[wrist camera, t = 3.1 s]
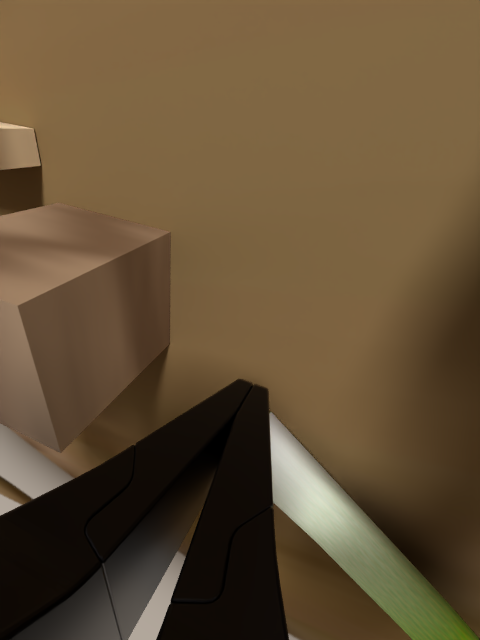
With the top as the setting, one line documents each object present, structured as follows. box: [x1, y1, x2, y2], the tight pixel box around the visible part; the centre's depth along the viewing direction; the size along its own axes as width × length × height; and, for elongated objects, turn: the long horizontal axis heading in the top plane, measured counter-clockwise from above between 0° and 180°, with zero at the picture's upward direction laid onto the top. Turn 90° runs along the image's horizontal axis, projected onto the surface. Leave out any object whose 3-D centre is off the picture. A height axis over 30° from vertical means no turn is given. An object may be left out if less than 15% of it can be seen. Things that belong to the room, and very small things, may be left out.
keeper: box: [0, 203, 171, 453], centre depth 11 cm, size 5×5×6 cm
